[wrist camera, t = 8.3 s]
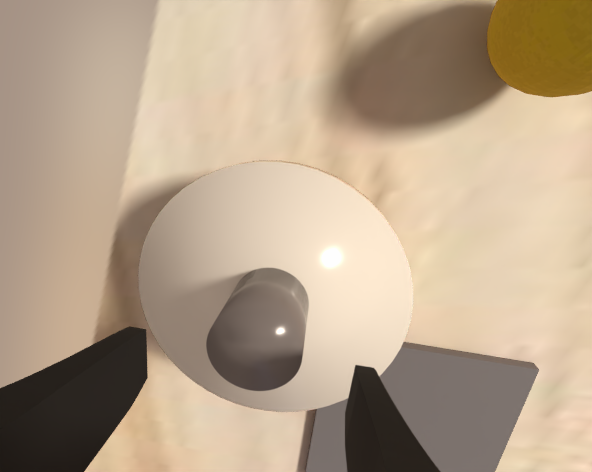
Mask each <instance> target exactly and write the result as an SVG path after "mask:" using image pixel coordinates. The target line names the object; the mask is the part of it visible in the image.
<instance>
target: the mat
mask: <svg viewBox="0 0 592 472" xmlns="http://www.w3.org/2000/svg"><path fill="white" fill-rule="evenodd" d="M538 371H539V369H538V368H537V367H536V365H535V364H534V363H529V362H523V361H517V360H511V359H505V358H498V357H492V356H486V355H480V354H474V353H468V352H462V351H455V350H449V349H443V348H437V347H431V346H425V345H419V344H412V343H406V342H403V344H402V346H401V349H400V350H399V352H398V353H397V355H396V357H395V358H394V360H393V361H392V363H391V364H390V365H389V366H388V367H387V368H386V370H385V371H384V372H383V373H382V374H381V375H380V376H379V377H380V379H381V381H382V383H383V384H384V386H385V388H386V390H387V392H388V393H389V395H390V397H391V399H392V400H393V402H394V404H395V405H396V407H397V409H398V410H399V412H400V414H401V415H402V417H403V418H404V420H405V422H406V423H407V425H408V426H409V428H410V429H411V431H412V433H413V434H414V436H415V437H416V439H417V440H418V441H419V443H420V444H421V446H422V447H423V449H424V450H425V451H426V453H427V454H428V456H429V457H430V458H431V460H432V461H433V462H434V464H435V465H436V466H437V468H438V469H439V470H440V472H495V470H496V468H497V466H498V463H499V461H500V459H501V456H502V454H503V452H504V450H505V447H506V445H507V443H508V440H509V438H510V436H511V433H512V431H513V429H514V427H515V424H516V422H517V420H518V417H519V415H520V413H521V410H522V408H523V406H524V404H525V401H526V399H527V397H528V394H529V392H530V390H531V387H532V385H533V383H534V381H535V378H536V376H537V374H538ZM347 401H348V398H347V399H345V400H343V401H340V402H337V403H335V404H332V405H329V406H326V407H322V408H318V409H316V413H315V419H314V425H313V430H312V436H311V441H310V447H309V452H308V458H307V464H306V469H305V472H347V463H346V452H345V411H346V406H347Z"/></svg>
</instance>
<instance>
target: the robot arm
mask: <svg viewBox="0 0 592 472" xmlns="http://www.w3.org/2000/svg"><path fill="white" fill-rule="evenodd" d="M146 379H147V344H146V329H140V328H134V327H127V328H125V329H123V330H121V331H119V332H117V333H115V334H113V335H111V336H109V337H107V338H105V339H103V340H101V341H99V342H97V343H95V344H93V345H91V346H90V347H88V348H86V349H84V350H82V351H80V352H78V353H76V354H74V355H72V356H70V357H68V358H66V359H64V360H62V361H60V362H58V363H56V364H53V365H51V366H49V367H47V368H45V369H43V370H41V371H39V372H37V373H34V374H32V375H30V376H28V377H26V378H24V379H21V380H19V381H17V382H14V383H12V384H9V385H7V386H5V387H2V388H0V472H84V471H85V470H86V468H87V467H88V466H89V464H90V463H91V461H92V460H93V459H94V457H95V456H96V455H97V453H98V452H99V450H100V449H101V448H102V446H103V445H104V444H105V442H106V441H107V440H108V438H109V437H110V435H111V434H112V433H113V431H114V430H115V429H116V427H117V426H118V424H119V423H120V422H121V420H122V419H123V418H124V416H125V415H126V413H127V412H128V411H129V409H130V408H131V406H132V405H133V403H134V401H135V399H136V398H137V396H138V394H139V392H140V391H141V389H142V387H143V385H144V383H145V381H146ZM345 452H346V463H347V472H440V470H439V469H438V468H437V466H436V465H435V464H434V462H433V461H432V460H431V458H430V457H429V456H428V454H427V453H426V451H425V450H424V449H423V447H422V446H421V444H420V443H419V441H418V440H417V439H416V437H415V436H414V434H413V433H412V431H411V429H410V428H409V426H408V425H407V423H406V422H405V420H404V418H403V417H402V415H401V414H400V412H399V410H398V409H397V407H396V405H395V404H394V402H393V400H392V399H391V397H390V395H389V393H388V392H387V390H386V388H385V386H384V384H383V383H382V381H381V379H380V377H379V375H378V373H377V371H376V370H375V369H374V368H372V367H366V366H360V365H355V369H354V373H353V378H352V383H351V387H350V392H349V397H348V401H347V406H346V411H345Z"/></svg>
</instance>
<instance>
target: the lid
mask: <svg viewBox="0 0 592 472" xmlns="http://www.w3.org/2000/svg"><path fill="white" fill-rule="evenodd" d="M138 281H139V293H140V299H141V305H142V308H143V311H144V315H145V318H146V321H147V323H148V325H149V327H150V330H151V332H152V334H153V336H154V337H155V339H156V341H157V342H158V344H159V346H160V347H161V348H162V350H163V351H164V352H165V354H166V355H167V356H168V358H169V359H170V360H171V361H172V362H173V363H174V364H175V365H176V366H177V367H178V368H179V369H180V370H181V371H182V372H183V373H184V374H185V375H187V376H188V377H189V378H190V379H191V380H193V381H194V382H195V383H197V384H198V385H200V386H201V387H203V388H204V389H206V390H208V391H209V392H211V393H213V394H215V395H217V396H219V397H221V398H223V399H226V400H228V401H231V402H233V403H236V404H239V405H243V406H246V407H250V408H254V409H260V410H265V411H276V412H298V411H306V410H313V409H318V408H322V407H326V406H329V405H332V404H335V403H337V402H340V401H343V400H345V399H347V398H348V397H349V392H350V387H351V383H352V378H353V373H354V369H355V365H360V366H366V367H372V368H374V369H375V370H376V371H377V373H378V375H379V376H380V375H381V374H382V373H383V372H384V371H385V370H386V368H387V367H388V366H389V365H390V364H391V363H392V361H393V360H394V358H395V357H396V355H397V353H398V352H399V350H400V349H401V346H402V344H403V342H404V340H405V338H406V335H407V333H408V329H409V325H410V322H411V318H412V310H413V302H414V301H413V282H412V276H411V271H410V266H409V263H408V260H407V257H406V254H405V252H404V249H403V247H402V245H401V243H400V241H399V239H398V237H397V235H396V233H395V232H394V230H393V228H392V227H391V225H390V224H389V223H388V221H387V220H386V218H385V217H384V216H383V214H382V213H381V212H380V211H379V210H378V209H377V207H376V206H375V205H374V204H373V203H372V202H371V201H370V200H369V199H368V198H367V197H365V196H364V195H363V194H362V193H360V192H359V191H358V190H357V189H355V188H354V187H353V186H351V185H350V184H348V183H346V182H345V181H343V180H341V179H340V178H338V177H336V176H334V175H332V174H329V173H327V172H325V171H322V170H320V169H317V168H314V167H310V166H307V165H303V164H300V163H293V162H286V161H262V160H260V161H253V162H245V163H240V164H236V165H232V166H229V167H225V168H222V169H219V170H217V171H214V172H212V173H210V174H208V175H205V176H203V177H201V178H199V179H197V180H196V181H194V182H193V183H191V184H189V185H188V186H186V187H185V188H183V189H182V190H181V191H180V192H179V193H178V194H176V195H175V196H174V197H173V198H172V199H171V200H170V201H169V202H168V203H167V204H166V205H165V207H164V208H163V209H162V210H161V211H160V213H159V214H158V216H157V217H156V219H155V220H154V222H153V224H152V225H151V227H150V229H149V232H148V234H147V236H146V238H145V241H144V244H143V248H142V252H141V255H140V262H139V271H138Z"/></svg>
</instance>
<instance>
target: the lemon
mask: <svg viewBox="0 0 592 472" xmlns="http://www.w3.org/2000/svg"><path fill="white" fill-rule="evenodd" d="M487 50H488V54H489V58H490V62H491V64H492V66H493V67H494V69H495V71H496V73H497V74H498V76H499V77H500V78H501V79H503V80H504V81H505V82H506V83H507V84H508V85H509V86H511V87H513V88H515V89H517V90H520V91H522V92H524V93H526V94H532V95H538V96H545V97H559V96H569V95H578V94H583V93H587V92H590V91H592V0H498V1H497V3H496V5H495V7H494V9H493V11H492V14H491V18H490V22H489V26H488V30H487Z"/></svg>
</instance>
